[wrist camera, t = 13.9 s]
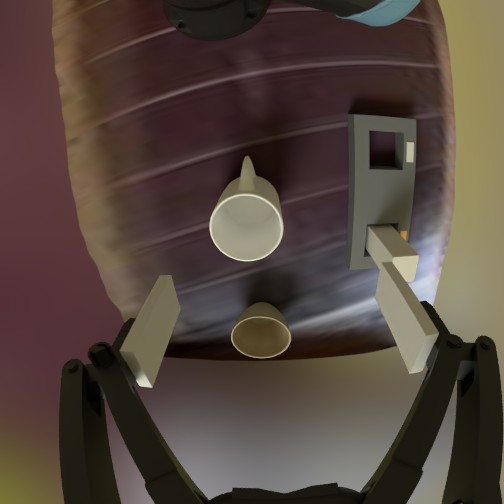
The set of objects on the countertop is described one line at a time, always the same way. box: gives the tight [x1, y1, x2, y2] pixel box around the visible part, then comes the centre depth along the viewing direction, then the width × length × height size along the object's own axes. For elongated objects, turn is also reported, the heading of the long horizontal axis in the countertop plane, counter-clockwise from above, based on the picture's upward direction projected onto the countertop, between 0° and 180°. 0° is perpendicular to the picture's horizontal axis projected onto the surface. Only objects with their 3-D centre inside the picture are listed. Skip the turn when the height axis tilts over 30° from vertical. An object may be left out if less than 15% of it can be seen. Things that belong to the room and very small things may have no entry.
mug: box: [210, 156, 283, 261], centre depth 37 cm, size 9×12×11 cm
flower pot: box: [231, 302, 291, 358], centre depth 49 cm, size 10×10×7 cm
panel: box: [345, 114, 416, 270], centre depth 39 cm, size 24×10×3 cm, turn 5°
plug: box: [365, 223, 419, 282], centre depth 38 cm, size 5×4×12 cm
